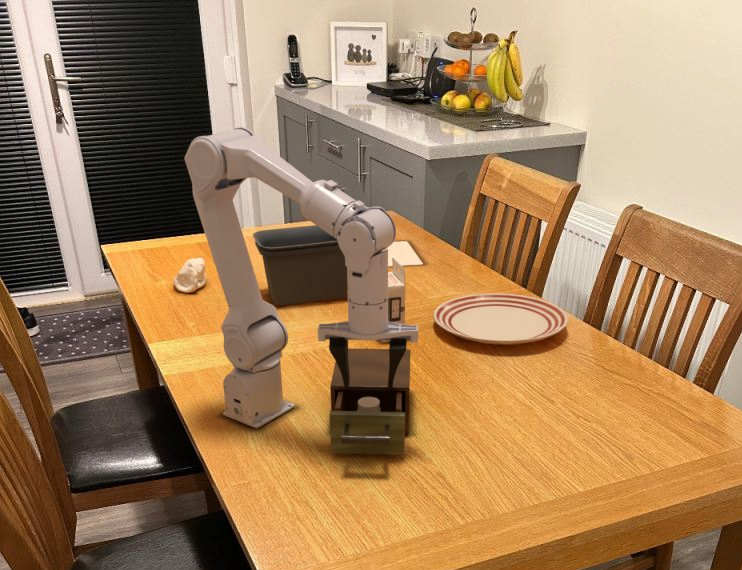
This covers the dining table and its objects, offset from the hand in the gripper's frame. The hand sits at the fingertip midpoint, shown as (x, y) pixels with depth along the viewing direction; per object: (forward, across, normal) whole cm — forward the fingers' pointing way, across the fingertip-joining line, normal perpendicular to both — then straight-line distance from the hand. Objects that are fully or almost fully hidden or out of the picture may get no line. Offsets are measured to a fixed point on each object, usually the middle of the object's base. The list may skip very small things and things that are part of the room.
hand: (368, 384), depth 120 cm
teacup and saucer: (+11, +3, -96) cm, 97 cm away
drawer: (+10, 0, 0) cm, 10 cm away
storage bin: (+11, +18, -65) cm, 69 cm away
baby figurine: (+11, +46, -71) cm, 85 cm away
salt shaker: (+8, 0, 0) cm, 8 cm away
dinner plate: (+11, -24, -48) cm, 55 cm away
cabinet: (+10, 0, -10) cm, 15 cm away
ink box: (+11, -1, -44) cm, 45 cm away
